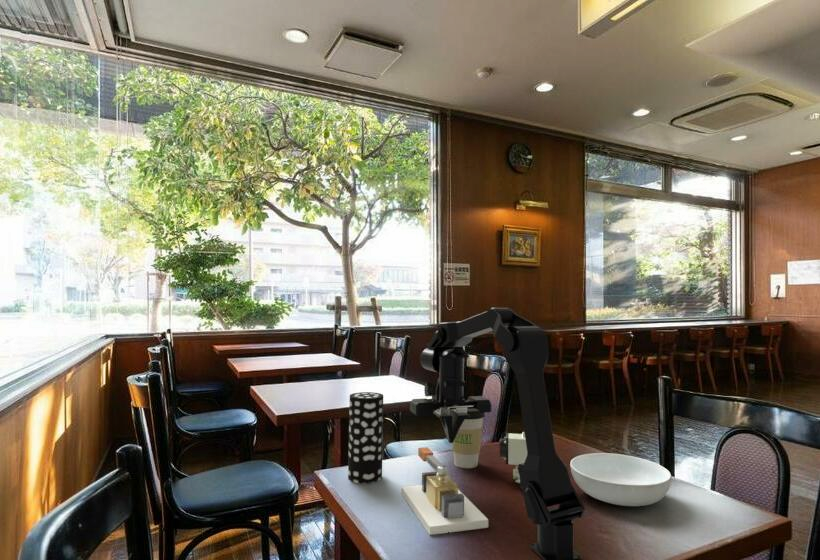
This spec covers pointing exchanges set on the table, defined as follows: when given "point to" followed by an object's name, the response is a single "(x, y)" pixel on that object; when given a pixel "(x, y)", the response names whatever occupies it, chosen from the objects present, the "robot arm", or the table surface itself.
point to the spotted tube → (365, 437)
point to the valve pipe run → (443, 495)
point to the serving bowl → (620, 478)
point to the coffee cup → (468, 440)
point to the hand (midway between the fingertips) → (450, 442)
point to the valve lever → (433, 462)
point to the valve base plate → (433, 516)
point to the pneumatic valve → (514, 451)
